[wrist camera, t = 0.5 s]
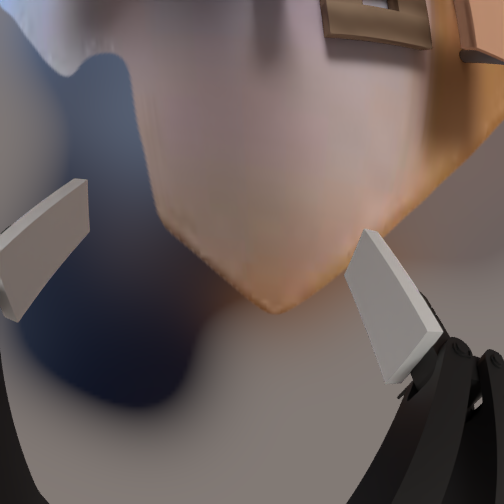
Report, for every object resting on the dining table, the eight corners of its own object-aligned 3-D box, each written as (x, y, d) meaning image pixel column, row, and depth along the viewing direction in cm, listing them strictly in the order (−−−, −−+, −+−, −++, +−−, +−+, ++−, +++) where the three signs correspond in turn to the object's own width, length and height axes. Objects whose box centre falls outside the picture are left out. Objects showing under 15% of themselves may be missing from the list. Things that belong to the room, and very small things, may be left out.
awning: (400, -35, 19) (449, -64, 8) (458, -15, 18) (512, -27, 7) (415, 52, 27) (477, 47, 15) (471, 67, 26) (532, 74, 15)
